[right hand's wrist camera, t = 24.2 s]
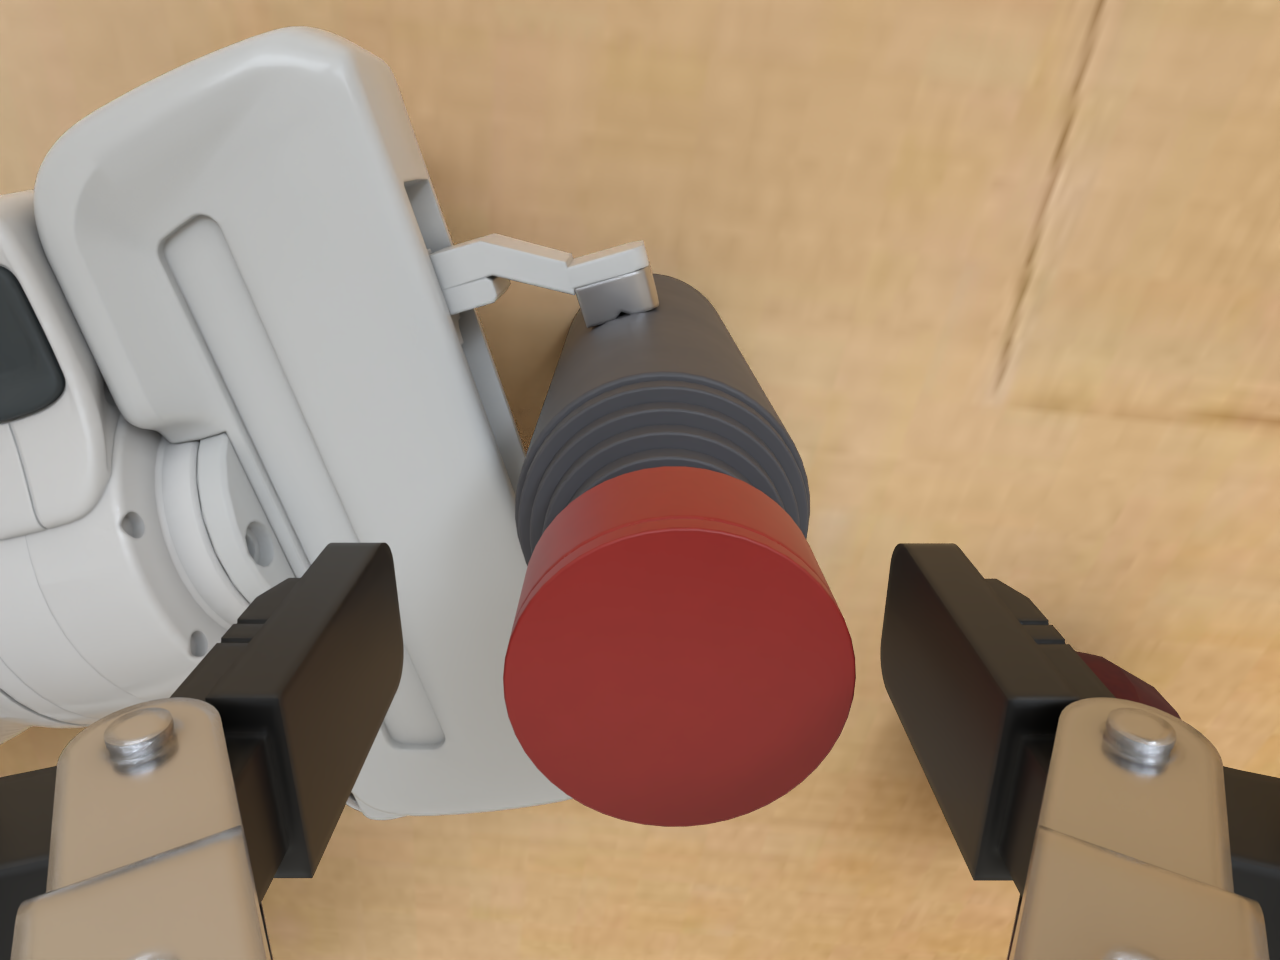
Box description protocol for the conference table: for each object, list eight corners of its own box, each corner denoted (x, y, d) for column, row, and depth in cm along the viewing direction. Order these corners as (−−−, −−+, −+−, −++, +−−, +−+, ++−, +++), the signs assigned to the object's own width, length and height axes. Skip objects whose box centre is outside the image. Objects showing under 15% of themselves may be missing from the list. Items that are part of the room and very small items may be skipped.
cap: (477, 660, 12) (448, 755, 10) (602, 412, 11) (597, 466, 9) (729, 763, 13) (747, 870, 11) (875, 541, 12) (925, 619, 10)
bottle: (715, 442, 28) (837, 833, 12) (558, 424, 28) (460, 802, 11) (740, 283, 26) (926, 487, 10) (573, 263, 26) (479, 439, 10)
